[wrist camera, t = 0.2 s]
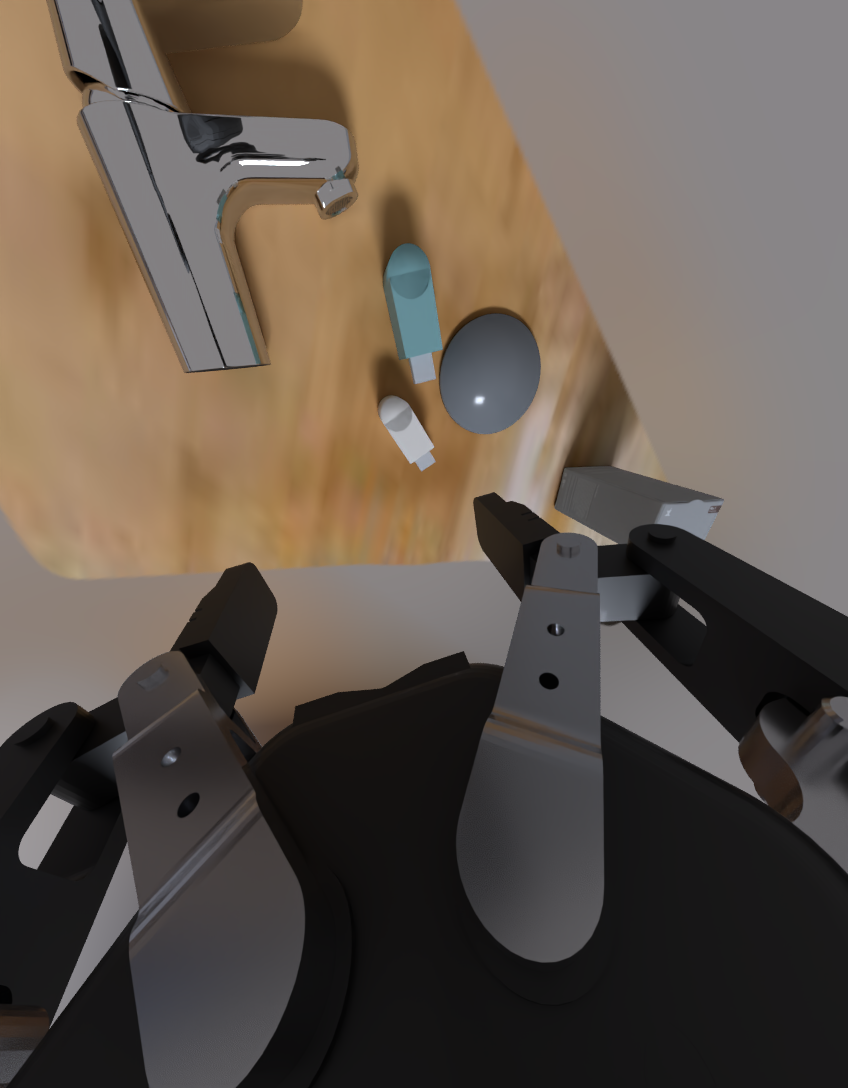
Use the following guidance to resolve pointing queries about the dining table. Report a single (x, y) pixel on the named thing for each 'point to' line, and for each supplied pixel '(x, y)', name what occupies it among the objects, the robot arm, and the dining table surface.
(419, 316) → the teal plug
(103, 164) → the chrome faucet
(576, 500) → the skincare box
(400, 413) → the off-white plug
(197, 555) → the dining table surface
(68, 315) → the dining table surface
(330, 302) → the dining table surface
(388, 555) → the dining table surface
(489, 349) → the slate coaster
